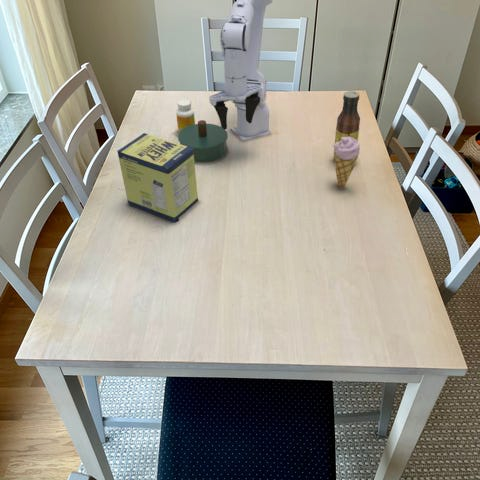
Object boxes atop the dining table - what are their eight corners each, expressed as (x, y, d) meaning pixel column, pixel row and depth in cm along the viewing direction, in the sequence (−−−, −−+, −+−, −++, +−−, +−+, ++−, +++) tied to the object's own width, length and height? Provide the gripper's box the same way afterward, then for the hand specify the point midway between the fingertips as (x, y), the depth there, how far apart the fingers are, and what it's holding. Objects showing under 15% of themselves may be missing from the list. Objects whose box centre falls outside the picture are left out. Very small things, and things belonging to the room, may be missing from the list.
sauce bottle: (353, 157, 144) (365, 89, 130) (355, 168, 140) (367, 99, 126) (331, 156, 145) (340, 88, 130) (331, 167, 140) (341, 98, 126)
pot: (214, 136, 153) (214, 121, 150) (234, 156, 145) (234, 141, 142) (174, 146, 149) (172, 131, 146) (191, 168, 141) (190, 153, 137)
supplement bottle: (194, 137, 153) (192, 106, 146) (177, 137, 153) (174, 106, 146) (196, 128, 157) (193, 98, 150) (179, 128, 157) (176, 98, 150)
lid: (215, 122, 151) (214, 106, 147) (236, 143, 142) (236, 127, 138) (170, 133, 146) (168, 117, 143) (189, 156, 137) (188, 139, 134)
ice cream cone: (324, 189, 133) (330, 137, 122) (332, 178, 137) (339, 127, 126) (348, 196, 131) (357, 143, 120) (355, 184, 134) (365, 132, 124)
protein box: (151, 185, 135) (143, 131, 124) (199, 202, 129) (194, 147, 118) (126, 204, 129) (115, 150, 118) (175, 223, 123) (168, 168, 112)
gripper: (216, 86, 122) (218, 137, 132) (268, 74, 127) (266, 125, 137) (205, 75, 127) (207, 125, 137) (255, 65, 131) (254, 114, 141)
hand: (236, 124), depth 137 cm, fingers open, 7 cm apart
